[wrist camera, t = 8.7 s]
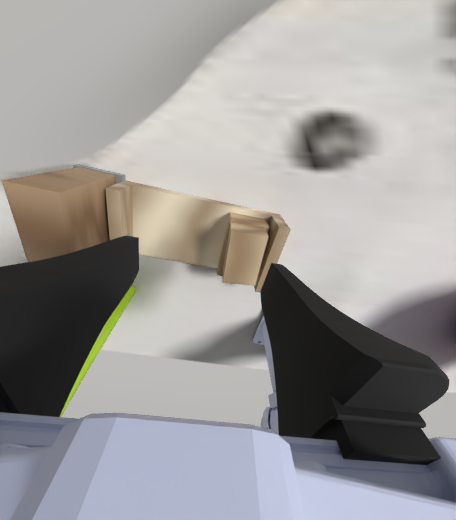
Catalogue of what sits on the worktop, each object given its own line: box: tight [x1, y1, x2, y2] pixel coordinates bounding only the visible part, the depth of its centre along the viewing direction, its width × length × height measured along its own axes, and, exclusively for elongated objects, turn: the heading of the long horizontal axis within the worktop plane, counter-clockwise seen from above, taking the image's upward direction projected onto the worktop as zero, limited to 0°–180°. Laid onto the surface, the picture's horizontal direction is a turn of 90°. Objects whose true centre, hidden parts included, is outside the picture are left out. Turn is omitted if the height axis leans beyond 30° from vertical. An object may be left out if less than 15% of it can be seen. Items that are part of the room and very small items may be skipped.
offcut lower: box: [217, 212, 269, 276], centre depth 20 cm, size 4×6×2 cm, turn 168°
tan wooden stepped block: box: [106, 181, 291, 293], centre depth 19 cm, size 15×7×4 cm, turn 77°
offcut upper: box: [223, 223, 268, 286], centre depth 18 cm, size 3×5×2 cm, turn 172°
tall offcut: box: [2, 167, 116, 262], centre depth 16 cm, size 6×3×7 cm, turn 167°
